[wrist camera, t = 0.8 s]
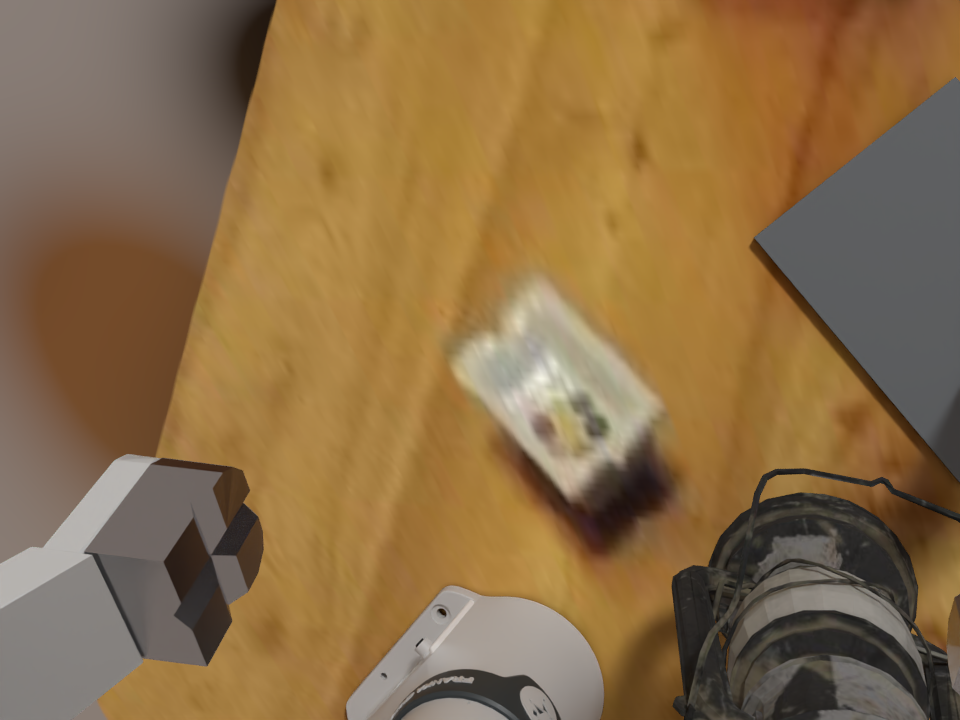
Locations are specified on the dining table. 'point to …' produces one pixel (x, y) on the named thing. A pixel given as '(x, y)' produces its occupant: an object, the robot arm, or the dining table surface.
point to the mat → (891, 264)
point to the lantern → (808, 618)
